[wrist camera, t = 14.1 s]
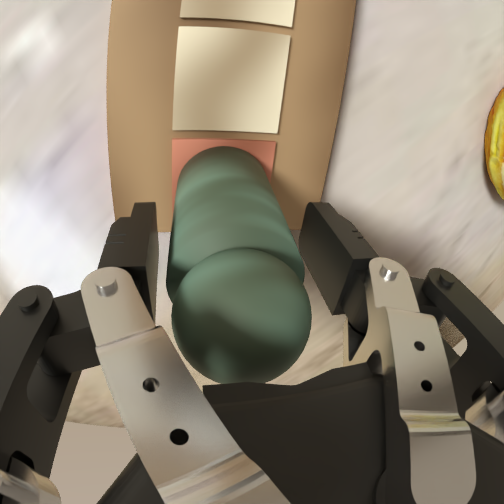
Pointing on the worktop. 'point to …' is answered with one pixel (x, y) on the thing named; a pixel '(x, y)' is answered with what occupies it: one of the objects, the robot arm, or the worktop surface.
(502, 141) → the decorated donut
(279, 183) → the game board
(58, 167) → the worktop surface
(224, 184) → the pawn
